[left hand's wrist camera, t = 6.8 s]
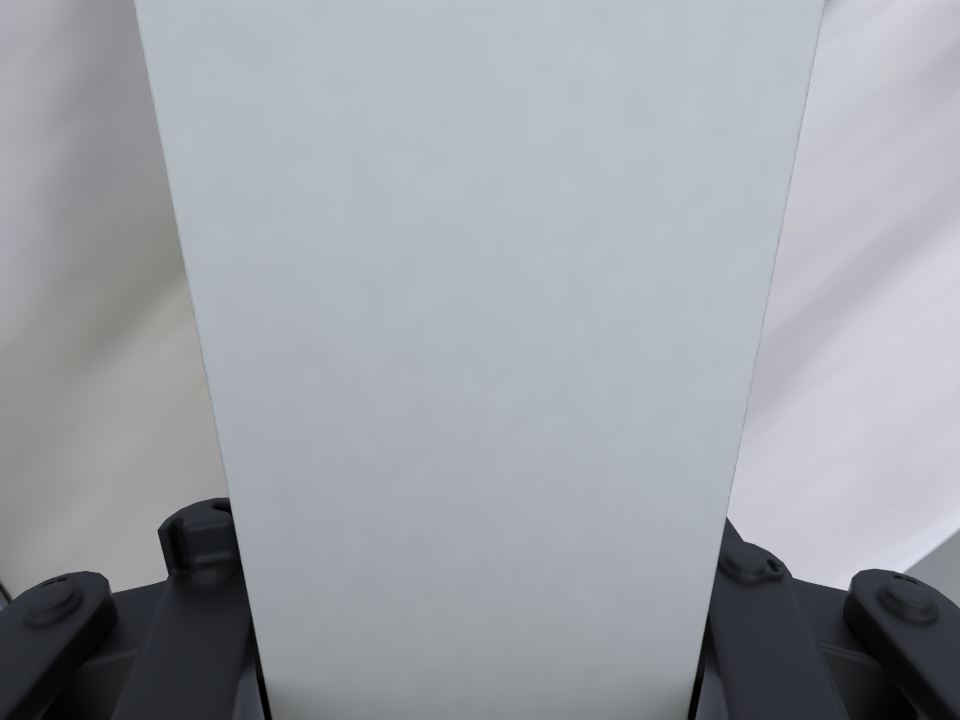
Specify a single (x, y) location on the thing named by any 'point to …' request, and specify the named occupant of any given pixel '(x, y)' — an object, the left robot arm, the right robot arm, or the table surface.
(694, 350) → the bar
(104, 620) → the left robot arm
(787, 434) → the table surface
